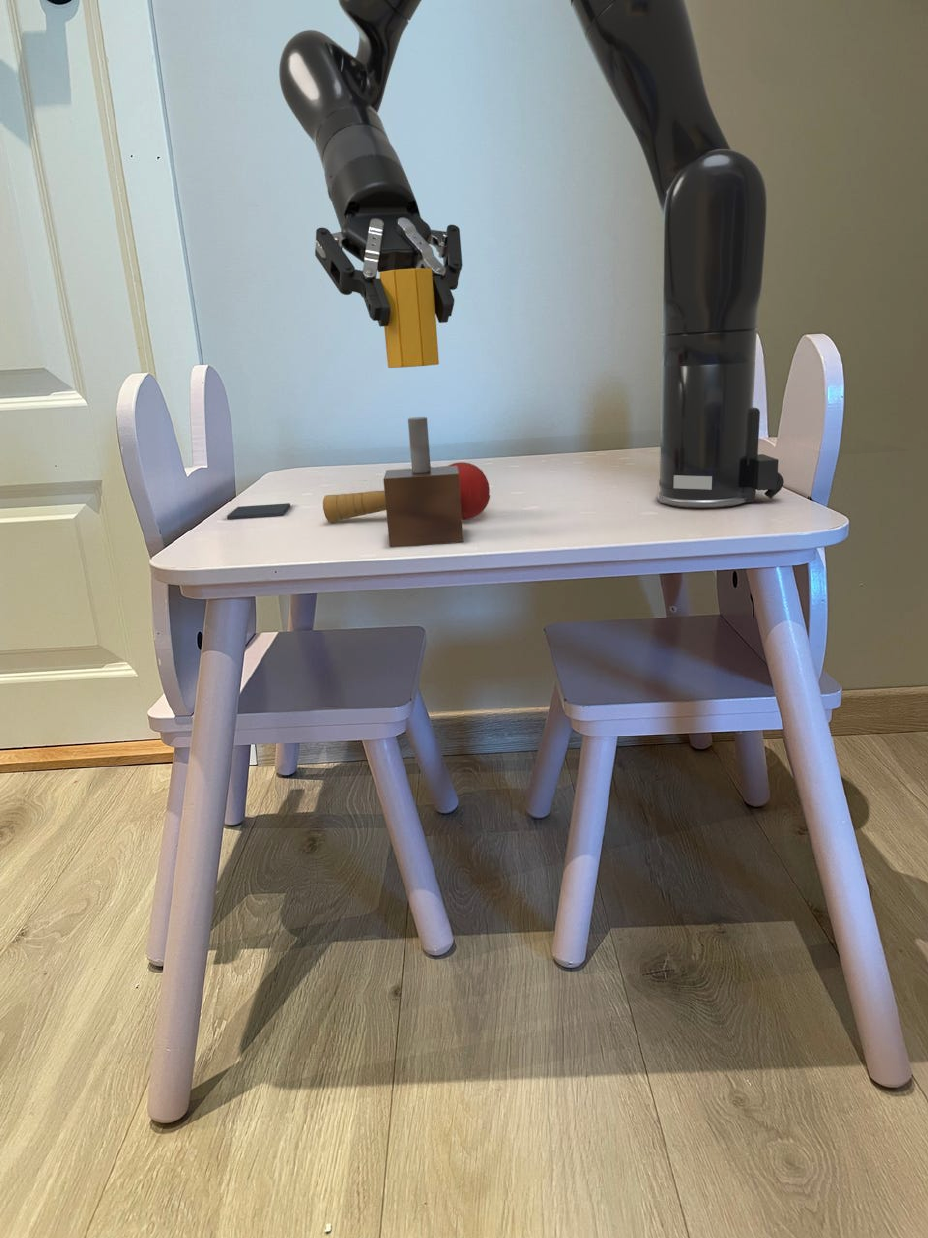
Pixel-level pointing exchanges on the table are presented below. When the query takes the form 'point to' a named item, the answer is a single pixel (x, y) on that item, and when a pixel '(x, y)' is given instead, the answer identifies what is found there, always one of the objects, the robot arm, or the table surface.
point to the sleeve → (410, 318)
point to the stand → (422, 497)
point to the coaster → (259, 511)
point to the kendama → (359, 504)
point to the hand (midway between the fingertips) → (415, 316)
